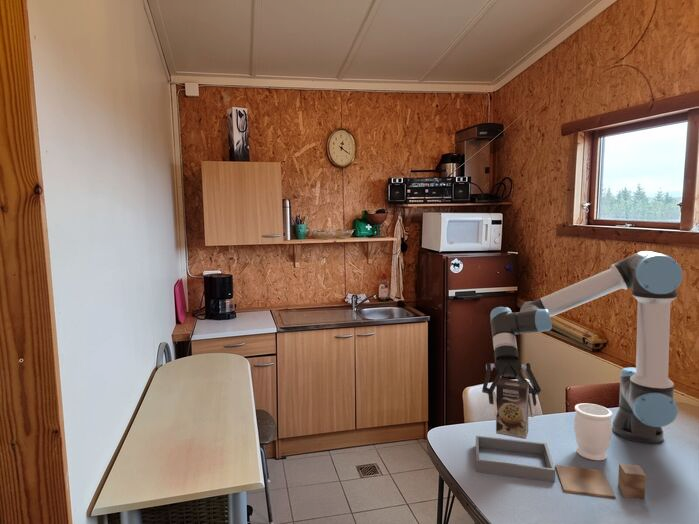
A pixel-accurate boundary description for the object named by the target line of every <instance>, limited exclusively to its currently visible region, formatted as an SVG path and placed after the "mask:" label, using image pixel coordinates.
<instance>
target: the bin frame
mask: <svg viewBox="0 0 699 524" xmlns="http://www.w3.org/2000/svg"><path fill="white" fill-rule="evenodd" d="M480 448H481V449H482V448H483V449H491V450H492V449H493V450H501V451H502V450H503V451H510V452H511V451H512V452H518V453H519V452H520V453H529V454H536V455H543V456H544V460H545V463H546V466H547V467H544V466H536V465H535V466H534V465H526V464H519V463H510V462H504V461H503V462H501V461H493V460H486V459H484V460H483V459H480ZM475 467H476V468H475V471H476V472H477V473H485V474H493V475H500V476H501V475H502V476H507V477H516V478H523V479H532V480H540V481H547V482H553V483H555V481H556V467H555V465H554V462H553V459H552V456H551V453H550V450H549V446H548V443H547V442H539V441H538V442H537V441H529V440H518V439H512V438H511V439H509V438H501V437H494V436H493V437H491V436H483V435H482V436H481V435H475Z"/></svg>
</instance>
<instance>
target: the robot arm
mask: <svg viewBox="0 0 699 524" xmlns="http://www.w3.org/2000/svg"><path fill="white" fill-rule="evenodd" d="M683 275H684V274H683V268H682V267H681V265H680V264H679V262H678V261H677V260H676V259H674V258H673V257H671V256H670V255H667V254H665V253H660V252H656V251H652V250H643V251H639V252H636V253H634V254H632V255H630V256H628V257H627V256H626V258H624V259H621V260H619V261H617V262H615V263H612V264H611V266H610V268H609V269H606V270H604V271H601V272H599V273H597V274H595V275H591V276H590V277H587V278H585V279H583V280H580V281H578V282H575V283H573V284H570V285H568V286H566V287H564V288H561V289H559V290H557V291H554V292H553V293H550V294H548V295H545V296H542V297H541V298H539V299H536V300H533V301H526V302H524V303H523V304H522V306H521V307H520V310H519V311H518V312H517V311H516V312H512V310H511V308H509V307H507V306H505V307H504V306H498V307H495V308H493V309H491V312H490V315H489V317H490V327H491V328H490V329H491V335H492V345H493V355H494V363H490V362H489V361H488V362H486V364H485V370H486V372H485V377H484V379H483V380H484V381H483V386H482V390H481V392H482V393H483V394H487V396H488V403H489V405H492V408H493V409H492V410H493V416H494V417H496V416H497V403H496V392H495V390H496V384H497V382H498V380H499V378H503V377H506V378H507V377H511V378H515V380H517V381H524V382H529V406H528V409H529V413H530V418H534V417H535V415H536V413H535V406H537V397H536V396H537V395H540V393H541V391H542V389H541V387H540V385H539V383H538V381H537V379H536V377H535V375H534V372H533V371H532V370H531V369H532V368H531V364H530V363H529V362H527V363H521V362H520V357H519V350H518V344H517V337H516V335H524V334H533V333H534V334H535V333H543V332H548V331H551V330H552V320H551V317H554V316H557V315H560V314H562V313H564V312H567V311H569V310H571V309H573V308H577V307H580V306H581V305H583V304H586V303H589V302H591V301H593V300H596V299H598V298H601V297H603V296H606V295H608V294H611V293H613V292H616V291H619V290H622V289H623V290H625V291H627V290H629V289H631V296H632V297H633V298H634V299H635V300H636V301H637V307H636V308H637V311H636V312H637V313H636V315H637V317H636V353H635V354H636V355H635V356H636V357H635V367H632V366H631V367H624V368H622V369H621V371H620V375H619V377H620V381H619V403H618V410H617V412H616V414H615V416H614V419H613V420H612V424H611V425H612V432H614V433H615V434H616V435H617V436H620V437H622V438H624V439H626V440H629V441H632V442H636V443H641V444H658V443H661V442H662V441H663V440H664V430H663V427H667V426H669V425H670V424H672V423H674V422H675V420H676V419H677V418H678V414H679V408H678V405H677V403H676V401H675V399H674V394H675V392H674V390H675V389H674V388H675V385H674V384H675V383H674V381H672V380H671V378H669V364H670V363H669V361H670V357H669V355H670V334H671V333H670V331H671V330H670V327H671V304H672V302H673V301H675V300H676V299H678V298H677V297H678V296H677V295H678V288H679V286H680V285H681V284H682V281H683ZM494 368H495V370H496V371H497V374H496V376H494V377H495V378H494V379H493V382H492V383H491V384H490V387H488V384H489V379H490V377H491V376H490V375H491V371H493V369H494ZM521 369H522V370H523V371H524V372H525V374H526V376H527V379H528V380H529V381H528V380H527V379H526V378H525V377H524V375H523V374H522V372H521V371H520V370H521Z"/></svg>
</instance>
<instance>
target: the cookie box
mask: <svg viewBox="0 0 699 524" xmlns="http://www.w3.org/2000/svg"><path fill="white" fill-rule="evenodd" d="M529 384H530V381H527V382H524V381H518V380H517V379H508V378H503V377H501V378H499V380H498V382H497V384H496V388H495V390H496V392H495V394H496V403H497V416H495V434H497V435H502V436H507V437H513V438H517V439H524V440H527V437H528V433H529Z"/></svg>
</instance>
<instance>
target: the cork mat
mask: <svg viewBox="0 0 699 524" xmlns="http://www.w3.org/2000/svg"><path fill="white" fill-rule="evenodd" d="M554 468H555V471H556V473H557V476H558V479H559V482H560V484H561V488H562V491H563V492H564V493H572V494H580V495H587V496H596V497H602V498H611V499H616V494H615V492H614V490H613V488H612V486H611V484H610V482H609V481H608V479H607V476H606V474H605V472H604V470H602V469H596V468H595V469H593V468H585V467H578V466H570V465H569V466H568V465H560V464H555V465H554Z"/></svg>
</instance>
